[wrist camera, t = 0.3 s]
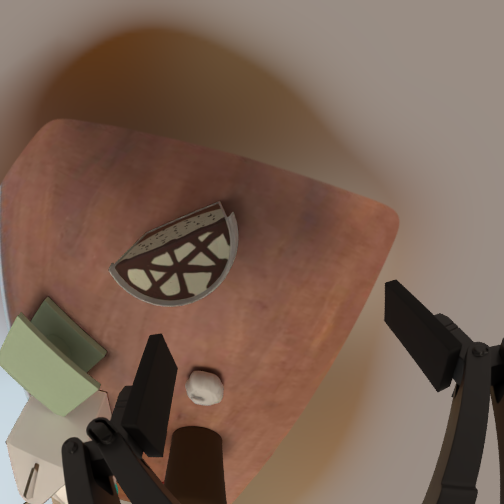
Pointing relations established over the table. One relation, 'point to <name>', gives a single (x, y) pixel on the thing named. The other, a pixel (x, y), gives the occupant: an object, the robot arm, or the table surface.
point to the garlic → (204, 388)
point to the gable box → (48, 446)
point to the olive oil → (196, 467)
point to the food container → (180, 258)
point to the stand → (51, 358)
